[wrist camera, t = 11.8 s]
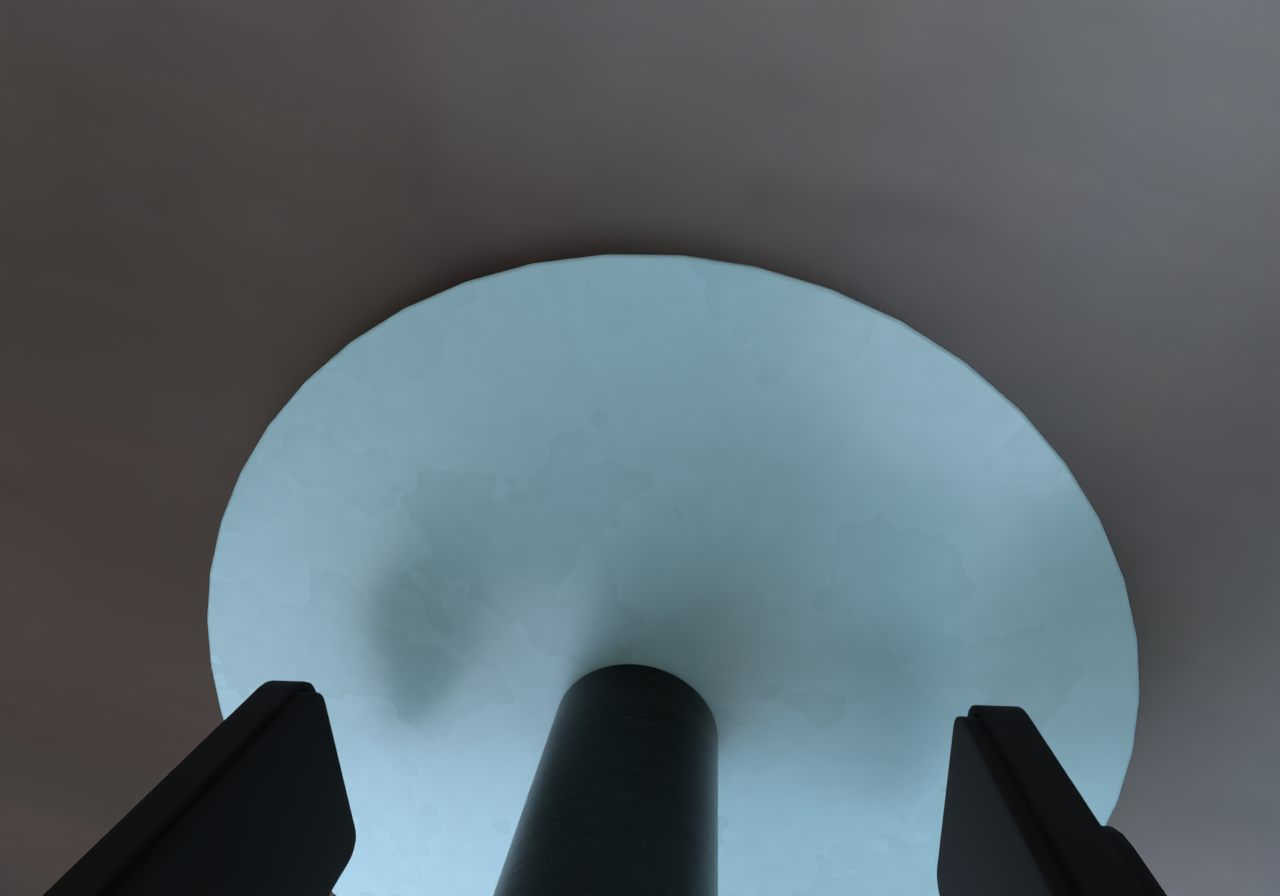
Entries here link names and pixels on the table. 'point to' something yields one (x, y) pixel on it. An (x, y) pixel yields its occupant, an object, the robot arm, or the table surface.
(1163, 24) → the table surface
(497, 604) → the pot lid
